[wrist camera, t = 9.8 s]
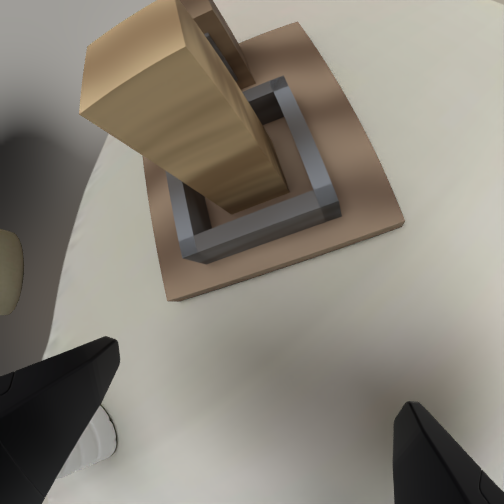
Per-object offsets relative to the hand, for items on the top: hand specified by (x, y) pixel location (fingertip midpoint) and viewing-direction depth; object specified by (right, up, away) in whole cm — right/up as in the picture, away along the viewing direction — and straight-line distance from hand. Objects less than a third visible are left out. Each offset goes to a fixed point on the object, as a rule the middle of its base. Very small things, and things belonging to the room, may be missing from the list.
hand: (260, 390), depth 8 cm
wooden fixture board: (-1, +12, +14) cm, 18 cm away
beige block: (0, +9, +12) cm, 15 cm away
